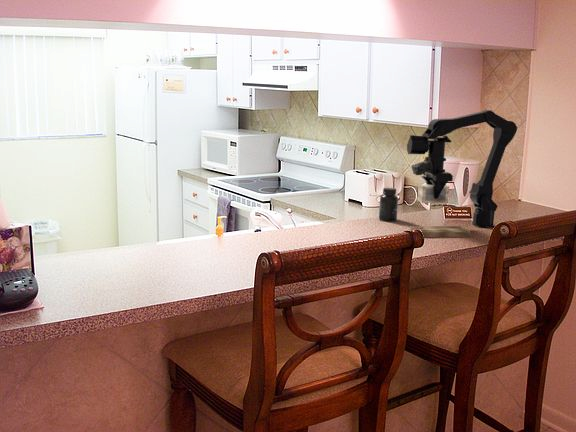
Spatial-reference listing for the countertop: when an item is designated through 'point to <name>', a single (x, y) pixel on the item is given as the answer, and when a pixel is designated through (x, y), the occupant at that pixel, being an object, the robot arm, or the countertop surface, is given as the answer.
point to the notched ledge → (443, 231)
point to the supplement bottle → (388, 205)
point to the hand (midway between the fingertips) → (433, 197)
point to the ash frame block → (432, 194)
